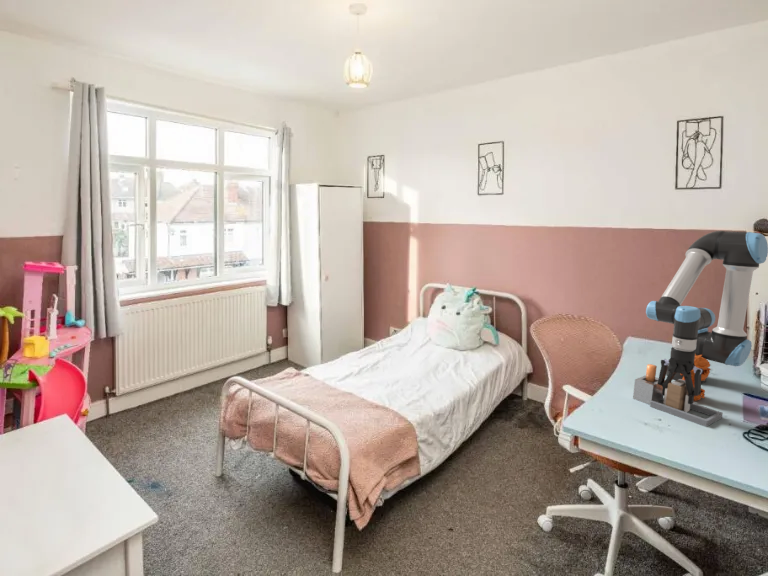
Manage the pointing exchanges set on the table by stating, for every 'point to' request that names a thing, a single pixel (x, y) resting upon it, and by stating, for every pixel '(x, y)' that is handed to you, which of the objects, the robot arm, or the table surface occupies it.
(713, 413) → the guide channel
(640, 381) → the grey block with hole
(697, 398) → the orange figurine
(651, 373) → the orange rounded peg
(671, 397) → the carriage
